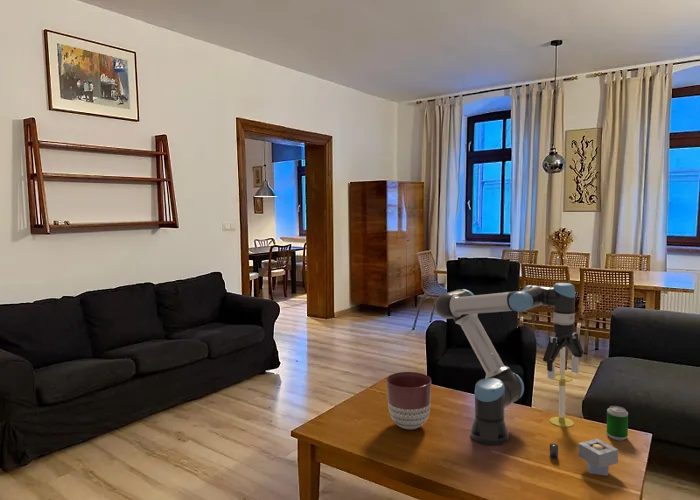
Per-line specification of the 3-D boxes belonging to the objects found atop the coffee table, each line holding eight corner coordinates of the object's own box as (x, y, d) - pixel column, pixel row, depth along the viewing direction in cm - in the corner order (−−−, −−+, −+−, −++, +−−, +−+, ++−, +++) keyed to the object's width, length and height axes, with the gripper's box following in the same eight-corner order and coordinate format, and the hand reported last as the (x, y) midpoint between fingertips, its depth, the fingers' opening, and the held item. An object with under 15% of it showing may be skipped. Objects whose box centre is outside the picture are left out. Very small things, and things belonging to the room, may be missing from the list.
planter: (381, 432, 207) (380, 384, 205) (394, 414, 225) (393, 369, 223) (426, 440, 200) (425, 390, 198) (436, 420, 218) (435, 374, 216)
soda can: (630, 442, 194) (631, 413, 193) (609, 440, 195) (610, 412, 194) (623, 433, 201) (624, 405, 200) (604, 432, 203) (604, 404, 201)
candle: (564, 416, 219) (565, 335, 215) (579, 425, 209) (580, 341, 206) (544, 418, 217) (545, 337, 213) (558, 428, 207) (559, 343, 203)
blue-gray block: (589, 473, 172) (589, 449, 172) (586, 464, 178) (587, 441, 177) (608, 475, 171) (608, 451, 170) (604, 466, 176) (605, 443, 175)
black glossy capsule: (549, 458, 183) (550, 446, 183) (549, 454, 186) (549, 442, 186) (558, 459, 182) (558, 447, 182) (557, 455, 185) (557, 443, 185)
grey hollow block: (598, 468, 168) (599, 454, 168) (578, 456, 176) (578, 443, 176) (617, 463, 171) (618, 449, 171) (596, 451, 180) (596, 438, 179)
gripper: (549, 329, 179) (548, 384, 181) (593, 320, 190) (592, 372, 192) (533, 325, 186) (533, 378, 188) (577, 316, 197) (576, 367, 199)
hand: (563, 375), depth 190 cm, fingers open, 13 cm apart
